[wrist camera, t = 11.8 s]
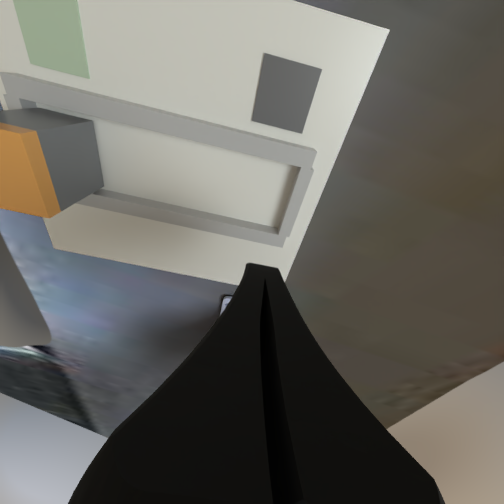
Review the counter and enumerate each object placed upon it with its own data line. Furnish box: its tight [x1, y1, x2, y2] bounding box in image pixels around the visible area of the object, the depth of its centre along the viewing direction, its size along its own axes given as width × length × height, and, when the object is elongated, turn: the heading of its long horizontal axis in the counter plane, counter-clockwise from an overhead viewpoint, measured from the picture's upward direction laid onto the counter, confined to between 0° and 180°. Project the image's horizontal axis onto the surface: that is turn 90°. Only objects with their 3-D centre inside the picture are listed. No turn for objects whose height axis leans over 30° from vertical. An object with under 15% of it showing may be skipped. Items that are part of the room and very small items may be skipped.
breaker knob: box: [0, 108, 104, 219], centre depth 12 cm, size 4×3×5 cm
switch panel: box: [0, 0, 389, 285], centre depth 15 cm, size 18×20×2 cm
